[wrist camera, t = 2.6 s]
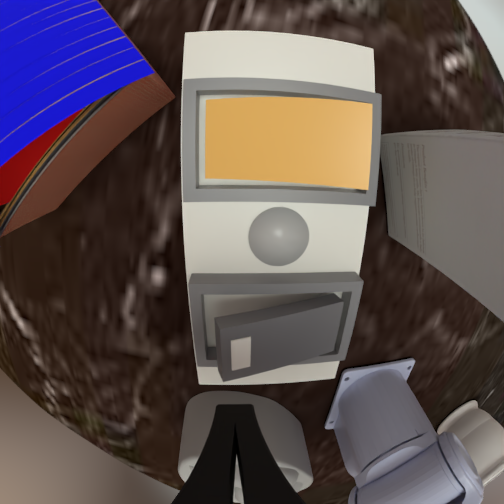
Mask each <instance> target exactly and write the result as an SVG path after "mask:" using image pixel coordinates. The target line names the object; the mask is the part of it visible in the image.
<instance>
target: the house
mask: <svg viewBox="0 0 504 504" xmlns="http://www.w3.org/2000/svg"><path fill="white" fill-rule="evenodd" d="M174 98H175V95H174V94H173V93H172V92H171V90H170V89H169V88H168V86H167V85H166V84H165V82H164V81H163V80H162V79H161V77H160V76H159V75H158V73H157V72H156V71H155V70H154V68H153V67H152V66H151V65H150V63H149V62H148V61H147V60H146V58H145V57H144V56H143V54H142V53H141V52H140V51H139V49H138V48H137V47H136V46H135V44H134V43H133V42H132V41H131V40H130V38H129V37H128V36H127V35H126V33H125V32H124V31H123V30H122V28H121V27H120V26H119V25H118V24H117V22H116V21H115V20H114V19H113V18H112V16H111V15H110V14H109V13H108V12H107V10H106V9H105V8H104V7H103V6H102V4H101V3H100V2H99V1H98V0H0V238H1V237H2V236H4V235H6V234H8V233H10V232H11V231H13V230H15V229H17V228H19V227H21V226H23V225H25V224H27V223H29V222H31V221H33V220H35V219H37V218H39V217H41V216H43V215H45V214H47V213H49V212H51V211H53V210H55V209H57V208H58V207H59V206H60V204H61V203H62V202H63V201H64V200H65V199H66V197H67V196H68V195H69V194H70V193H71V192H72V191H73V190H74V188H75V187H76V186H77V185H78V184H79V183H80V182H81V181H82V180H83V179H84V178H85V177H86V176H87V175H88V173H89V172H90V171H91V170H92V169H93V168H94V167H95V166H96V165H97V164H98V163H99V162H100V161H101V160H102V159H103V158H104V157H105V156H107V155H108V154H109V153H110V152H111V151H112V150H113V149H114V148H115V147H116V146H117V145H118V144H119V143H120V142H121V141H123V140H124V139H125V138H126V137H127V136H128V135H129V134H130V133H132V132H133V131H134V130H135V129H136V128H137V127H139V126H140V125H141V124H142V123H143V122H145V121H146V120H147V119H148V118H149V117H151V116H152V115H153V114H154V113H156V112H157V111H158V110H159V109H161V108H162V107H163V106H165V105H166V104H167V103H169V102H170V101H171V100H173V99H174ZM94 101H95V102H94ZM93 102H94V103H93ZM91 103H93V104H92V105H91V106H90V107H89V108H88V109H87V110H86V111H85V112H84V113H83V114H82V115H81V116H80V117H79V118H78V119H77V120H76V121H75V122H74V123H73V121H74V120H75V119H76V118H77V117H78V116H79V115H80V114H81V113H82V112H83V111H84V110H85V109H86V108H87V107H88V106H89V105H90V104H91ZM72 123H73V124H72ZM71 124H72V125H71ZM70 125H71V127H70V128H69V129H68V130H67V131H66V132H65V133H64V134H63V132H64V131H65V130H66V129H67V128H68V127H69V126H70ZM62 134H63V135H62ZM61 135H62V137H61V138H60V139H59V140H58V141H57V139H58V138H59V137H60V136H61ZM56 141H57V142H56ZM55 142H56V144H55V145H54V146H53V147H52V145H53V144H54V143H55ZM51 147H52V148H51ZM50 148H51V150H50V151H49V152H48V153H47V151H48V150H49V149H50ZM46 153H47V155H46V156H45V157H44V158H43V156H44V155H45V154H46ZM42 158H43V160H42V161H41V162H40V160H41V159H42ZM39 162H40V164H39V165H38V166H37V164H38V163H39ZM36 166H37V167H36ZM35 167H36V168H35Z"/></svg>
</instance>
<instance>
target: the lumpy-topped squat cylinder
mask: <svg viewBox="0 0 504 504" xmlns="http://www.w3.org/2000/svg"><path fill="white" fill-rule="evenodd" d="M218 404H252V405H254V410H255V414H256V418H257V421H258V424H259V427H260V429H261V432H262V434H263V437H264V439H265V441H266V443H267V445H268V447H269V450H270V452H271V454H272V455H273V457H274V459H275V461H276V463H277V464H278V466H279V468H280V469H281V471H282V473H283V474H284V476H285V477H286V479H287V480H288V482H289V483H290V484H291V486H292V487H293V488H294V490H295V491H296V492H298V491H300V490H303V489H305V488H307V487H309V486H310V485H311V484H312V482H313V475H312V470H311V466H310V461H309V457H308V452H307V447H306V443H305V438H304V434H303V429H302V425H301V423H300V422H299V421H298V420H297V419H296V417H295V416H294V415H293V414H292V413H290V412H289V411H288V410H287V409H285V408H284V407H283V406H281V405H280V404H278V403H277V402H275V401H273V400H271V399H269V398H265V397H261V396H257V395H253V394H248V393H243V392H236V391H209V392H204V393H201V394H198V395H196V396H194V397H193V398H191V399H190V400H189V402H188V403H187V406H186V409H185V416H184V423H183V431H182V439H181V447H180V455H179V464H178V472H179V475H180V476H181V478H182V479H183V480H184V482H186V481H187V479H188V477H189V476H190V474H191V472H192V470H193V468H194V466H195V464H196V462H197V460H198V458H199V456H200V454H201V452H202V450H203V447H204V445H205V442H206V440H207V437H208V435H209V432H210V429H211V426H212V422H213V419H214V414H215V409H216V406H217V405H218ZM233 502H238V503H241V504H244V500H243V493H242V487H241V480H240V474H239V467H238V460H237V454H236V468H235V482H234V496H233Z"/></svg>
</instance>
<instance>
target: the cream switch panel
mask: <svg viewBox="0 0 504 504" xmlns="http://www.w3.org/2000/svg"><path fill="white" fill-rule="evenodd" d="M241 97H302V98H320V99H334V100H344V101H354V102H362V103H370V104H373V105H372V144H371V162H370V175H369V187H368V190H362V189H354V188H345V187H336V186H326V185H315V184H304V183H291V182H276V181H259V180H238V179H205V119H206V100H209V99H222V98H241ZM380 140H381V94H378V93H375V75H374V53H373V49H372V48H368V47H364V46H360V45H355V44H351V43H346V42H341V41H336V40H331V39H325V38H319V37H312V36H305V35H297V34H288V33H277V32H262V31H204V32H189V33H185V43H184V58H183V76H182V103H181V184H182V213H183V233H184V249H185V263H186V276H187V288H188V298H189V308H190V318H191V327H192V335H193V344H194V351H195V359H196V366H197V373H198V380H199V384H207V385H250V384H275V383H291V382H303V381H314V380H324V379H332V378H335V375H336V372H337V368H338V365H339V361H342V360H345V357H346V354H347V350H348V346H349V343H350V339H351V335H352V331H353V327H354V323H355V319H356V314H357V310H358V306H359V301H360V296H361V292H362V287H363V282H364V281H363V280H362V279H361V278H360V277H359V272H360V266H361V260H362V254H363V247H364V241H365V234H366V226H367V219H368V210H369V206H375V204H376V195H377V184H378V173H379V159H380ZM332 293H334V294H336V295H337V296H338V297H339V298H341V299H342V300H343V301H344V304H343V309H342V314H341V319H340V324H339V329H338V333H337V338H336V342H335V346H334V350H333V351H331V352H329V353H326V354H323V355H320V356H317V357H314V358H311V359H307V360H304V361H301V362H298V363H295V364H291V365H288V366H284V367H281V368H277V369H274V370H270V371H267V372H263V373H259V374H255V375H251V376H247V377H243V378H239V379H235V380H230V381H226V382H223V381H222V379H221V376H220V374H219V372H218V366H217V353H216V338H215V322H214V317H220V316H226V315H231V314H237V313H242V312H248V311H253V310H258V309H263V308H268V307H273V306H278V305H283V304H288V303H292V302H297V301H302V300H306V299H311V298H315V297H319V296H324V295H328V294H332Z"/></svg>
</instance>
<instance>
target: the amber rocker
mask: <svg viewBox="0 0 504 504" xmlns="http://www.w3.org/2000/svg"><path fill="white" fill-rule="evenodd" d="M372 105H373V104H370V103H362V102H354V101H344V100H334V99H320V98H302V97H241V98H222V99H209V100H206V119H205V179H238V180H259V181H276V182H291V183H304V184H315V185H326V186H336V187H345V188H354V189H362V190H368V187H369V175H370V162H371V144H372Z"/></svg>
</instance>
